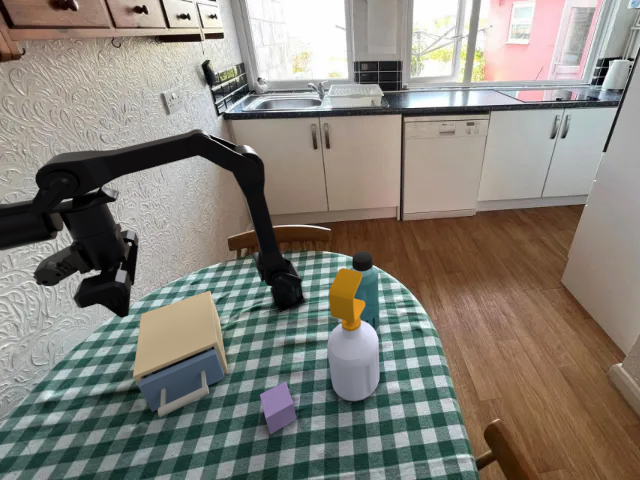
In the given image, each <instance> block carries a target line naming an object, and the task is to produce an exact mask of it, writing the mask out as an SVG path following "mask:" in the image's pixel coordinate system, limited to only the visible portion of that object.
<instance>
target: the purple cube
mask: <svg viewBox="0 0 640 480" xmlns="http://www.w3.org/2000/svg"><path fill="white" fill-rule="evenodd" d="M259 398H260V401H261V406H262V411H263V413H264V418H265V422H266V425H267V428H268V432H269V434H270V435H273V434H274V433H275V432H277V431H279V430H280V429H282V428H285V427H286V426H288V425H289V424H292V423H293V422H294V421H297V414H296V409H295V405H294V402H293V398H292V395H291V393H290V389H289V387H288V383H287V381H283V382H282V383H279V384H277V385H275V386H273V387H272V388H270V389H268V390H266V391H263V392H262V393H260V394H259Z"/></svg>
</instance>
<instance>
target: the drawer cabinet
mask: <svg viewBox="0 0 640 480" xmlns="http://www.w3.org/2000/svg"><path fill="white" fill-rule="evenodd" d="M222 333H223V332H222V327H221V321H220V317H219V313H218V311H217V307H216V305H215V301H214V298H213V296H212V293H211V290H208V291H205V292H202V293H199V294H196V295H192V296H189V297H186V298H184V299H181V300H179V301H175V302H173V303H169V304H167V305H166V304H165V305H164V306H161V307H158V308H154V309H152V310H149V311H146V312H142V313H141V314H140V321H139V329H138V335H137V342H136V343H137V344H136V351H135V358H134V364H133V365H134V367H133V373H132V377H133V379H134V381H135V383H136V385H137V386H138V385H139V381H140V380H142V379H145V378H147V376H146V374H149V373H151V372H154V371H156V370H158V369H161V368H163V367H166V366H168V365H170V364H173V363H175V362H177V361H180V360H182V359H185V358H187V357H189V356H192V355H194V354H197V353H199V352H201V351H204V350H206V349H209V348H211V347H213V346H214V349H215V350H216V352H217V355H218V358H219V361H220V364H221V366H222V369H223V372H224V375H225V374H228V373H229V369H228V364H227V358H226V357H227V356H226V351H225V345H224V340H223V339H224V338H223V334H222Z"/></svg>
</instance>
